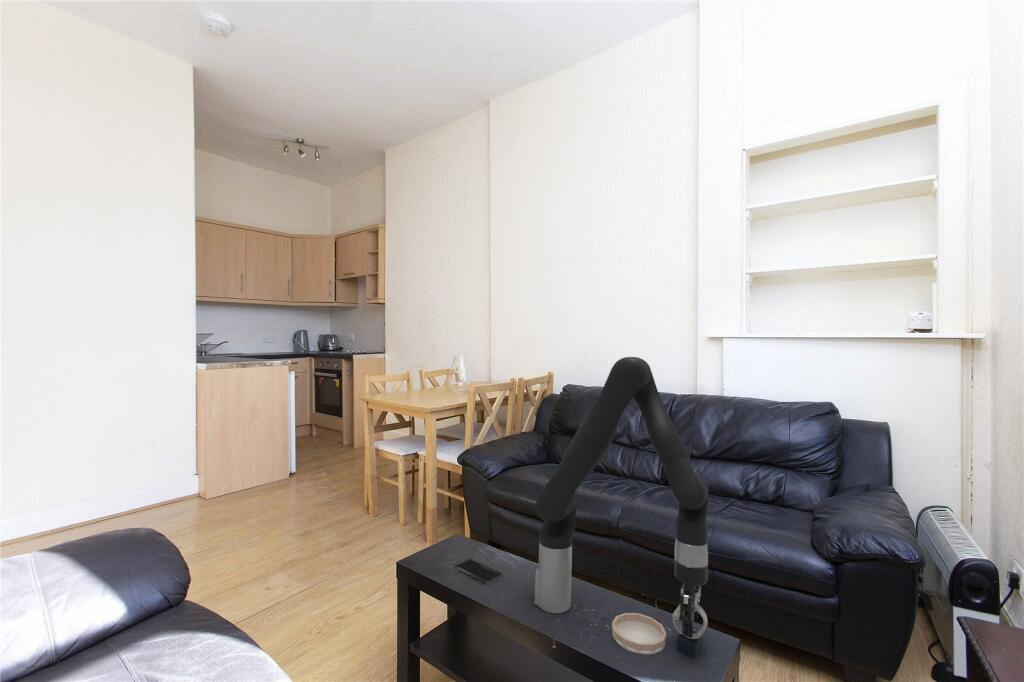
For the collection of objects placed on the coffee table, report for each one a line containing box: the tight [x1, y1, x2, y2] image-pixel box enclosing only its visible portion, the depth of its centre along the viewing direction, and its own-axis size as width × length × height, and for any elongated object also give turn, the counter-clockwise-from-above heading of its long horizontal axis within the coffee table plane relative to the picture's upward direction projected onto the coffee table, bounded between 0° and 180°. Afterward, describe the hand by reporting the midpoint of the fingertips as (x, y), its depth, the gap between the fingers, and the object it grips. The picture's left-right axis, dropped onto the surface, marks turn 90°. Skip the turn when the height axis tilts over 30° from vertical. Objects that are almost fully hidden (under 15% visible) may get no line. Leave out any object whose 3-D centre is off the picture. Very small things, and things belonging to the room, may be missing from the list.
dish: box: [611, 612, 667, 656], centre depth 112 cm, size 13×13×2 cm
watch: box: [671, 603, 709, 659], centre depth 108 cm, size 6×8×11 cm
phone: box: [454, 558, 503, 585], centre depth 142 cm, size 8×1×15 cm
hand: (690, 626), depth 108 cm, fingers open, 8 cm apart
